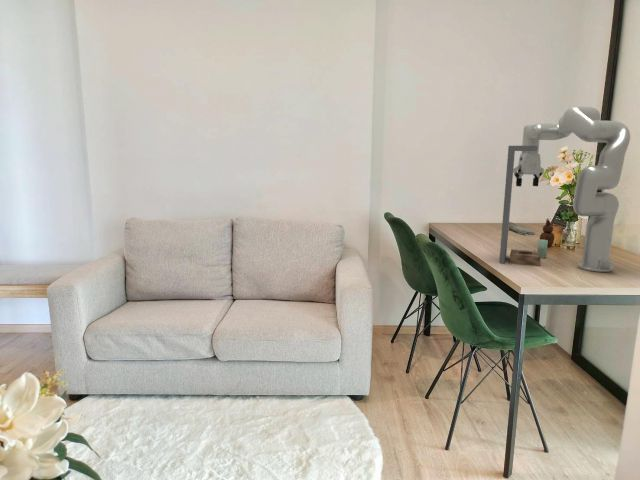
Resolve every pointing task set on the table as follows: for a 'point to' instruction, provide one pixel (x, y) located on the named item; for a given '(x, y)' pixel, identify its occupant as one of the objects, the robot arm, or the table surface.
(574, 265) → the table surface
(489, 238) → the table surface
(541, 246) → the peg
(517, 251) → the socket block
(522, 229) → the elongated rock
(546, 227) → the wooden figurine
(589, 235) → the robot arm
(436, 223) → the table surface
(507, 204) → the gallows post stand
